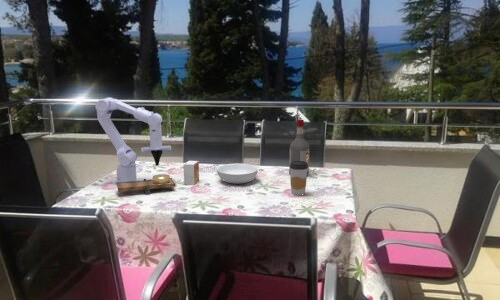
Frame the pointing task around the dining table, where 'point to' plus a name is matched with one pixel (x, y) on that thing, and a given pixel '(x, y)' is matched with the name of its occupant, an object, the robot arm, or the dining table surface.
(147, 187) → the beam stand
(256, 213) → the dining table surface
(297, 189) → the coffee cup
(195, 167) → the small box
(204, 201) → the dining table surface
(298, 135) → the liquor
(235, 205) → the dining table surface
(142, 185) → the beam
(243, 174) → the serving bowl
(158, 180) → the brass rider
